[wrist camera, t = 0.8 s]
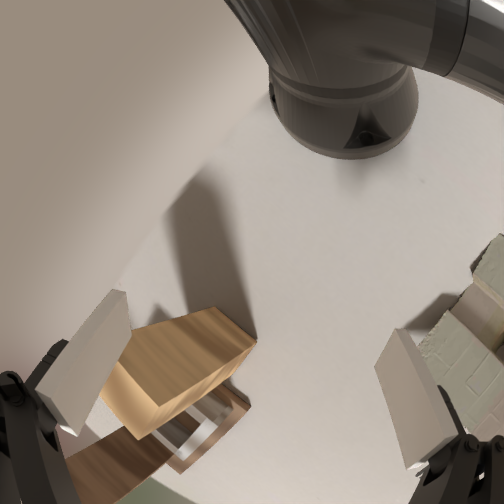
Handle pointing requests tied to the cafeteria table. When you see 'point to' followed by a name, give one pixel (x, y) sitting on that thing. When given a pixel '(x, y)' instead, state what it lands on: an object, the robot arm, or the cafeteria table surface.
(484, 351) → the wall
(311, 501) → the cafeteria table surface
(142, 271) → the cafeteria table surface
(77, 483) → the wooden peg insertion stand
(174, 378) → the block
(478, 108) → the cafeteria table surface
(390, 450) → the cafeteria table surface
